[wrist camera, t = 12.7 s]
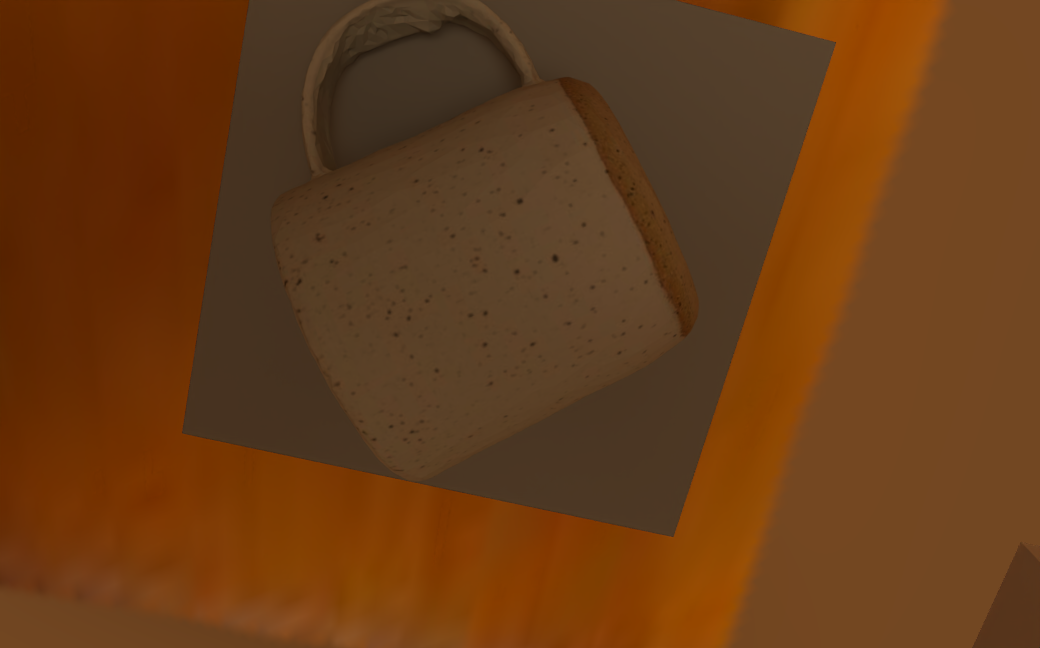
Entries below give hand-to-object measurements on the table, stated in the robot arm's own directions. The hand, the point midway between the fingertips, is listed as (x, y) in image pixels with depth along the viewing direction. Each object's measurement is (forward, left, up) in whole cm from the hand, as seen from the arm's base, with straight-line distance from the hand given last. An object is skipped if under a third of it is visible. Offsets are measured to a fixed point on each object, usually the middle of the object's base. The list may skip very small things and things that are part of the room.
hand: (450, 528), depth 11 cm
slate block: (+1, -1, -23) cm, 23 cm away
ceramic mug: (-1, 0, -17) cm, 17 cm away
